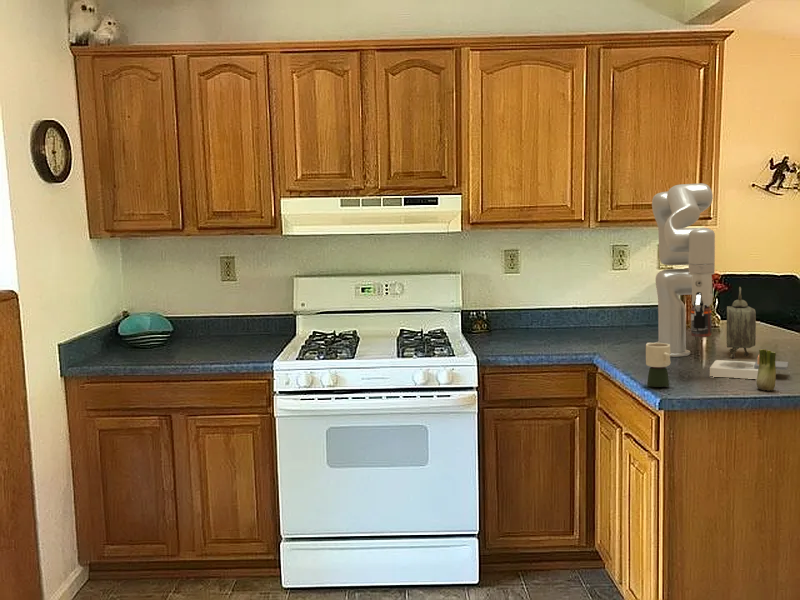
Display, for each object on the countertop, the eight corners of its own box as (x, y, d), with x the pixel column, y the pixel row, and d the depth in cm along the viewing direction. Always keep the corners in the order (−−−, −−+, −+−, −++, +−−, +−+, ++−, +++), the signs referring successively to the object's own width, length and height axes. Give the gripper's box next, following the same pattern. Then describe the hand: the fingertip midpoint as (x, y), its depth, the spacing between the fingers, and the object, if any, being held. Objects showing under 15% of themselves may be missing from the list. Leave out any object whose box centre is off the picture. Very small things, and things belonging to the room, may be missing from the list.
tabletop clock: (726, 352, 277) (726, 285, 274) (753, 352, 274) (754, 285, 271) (727, 359, 264) (727, 289, 261) (755, 360, 260) (756, 288, 258)
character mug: (679, 389, 222) (679, 346, 221) (658, 391, 220) (658, 348, 219) (657, 382, 233) (657, 341, 231) (637, 384, 231) (637, 343, 230)
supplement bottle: (706, 333, 237) (706, 298, 236) (714, 337, 231) (715, 300, 230) (687, 334, 237) (688, 299, 236) (695, 338, 231) (696, 301, 230)
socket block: (709, 377, 237) (709, 367, 237) (715, 368, 249) (715, 360, 249) (765, 380, 229) (765, 371, 228) (769, 372, 241) (769, 362, 241)
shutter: (754, 367, 232) (754, 357, 232) (756, 362, 240) (756, 352, 240) (786, 369, 228) (786, 359, 227) (788, 364, 236) (788, 354, 235)
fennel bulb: (778, 392, 214) (778, 351, 213) (759, 392, 215) (760, 351, 214) (771, 388, 220) (772, 347, 218) (753, 388, 220) (754, 347, 219)
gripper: (710, 271, 223) (710, 331, 225) (718, 266, 237) (717, 322, 239) (683, 271, 226) (683, 330, 228) (693, 266, 241) (693, 322, 243)
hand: (701, 326), depth 234 cm, fingers closed on supplement bottle, 6 cm apart
